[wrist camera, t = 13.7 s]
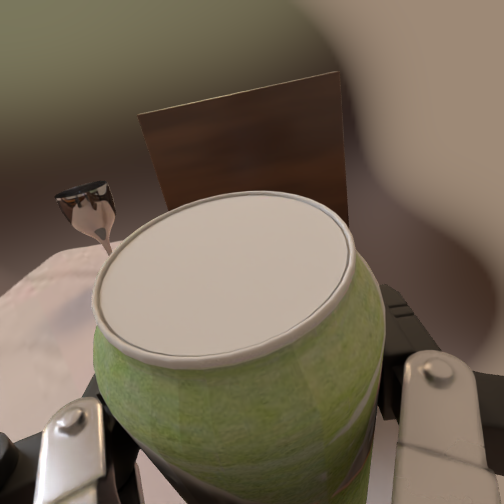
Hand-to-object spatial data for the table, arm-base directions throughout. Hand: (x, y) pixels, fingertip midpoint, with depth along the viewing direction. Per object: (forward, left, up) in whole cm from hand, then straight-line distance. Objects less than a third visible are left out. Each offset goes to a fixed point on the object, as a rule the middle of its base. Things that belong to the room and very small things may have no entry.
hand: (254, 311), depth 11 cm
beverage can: (-2, -1, -8) cm, 8 cm away
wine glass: (+22, +45, -18) cm, 53 cm away
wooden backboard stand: (+13, +8, -18) cm, 23 cm away
